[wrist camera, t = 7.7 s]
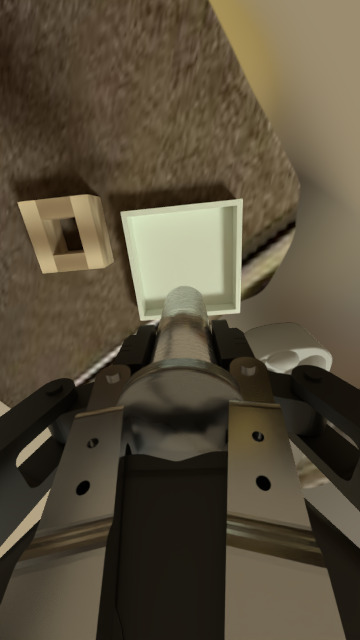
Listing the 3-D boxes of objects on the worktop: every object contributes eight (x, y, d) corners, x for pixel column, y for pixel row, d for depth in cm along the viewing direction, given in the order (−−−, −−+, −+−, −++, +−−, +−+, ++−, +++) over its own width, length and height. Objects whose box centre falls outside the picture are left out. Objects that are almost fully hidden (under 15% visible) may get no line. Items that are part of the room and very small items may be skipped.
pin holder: (38, 203, 28) (17, 202, 25) (100, 196, 28) (87, 194, 24) (59, 266, 32) (42, 273, 28) (113, 261, 31) (104, 267, 28)
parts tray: (126, 212, 29) (120, 211, 26) (237, 200, 28) (242, 198, 25) (144, 312, 34) (140, 320, 32) (235, 305, 34) (240, 313, 31)
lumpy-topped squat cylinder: (305, 371, 39) (335, 411, 31) (230, 382, 40) (240, 423, 32) (306, 317, 34) (342, 348, 27) (222, 332, 36) (232, 365, 28)
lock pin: (151, 278, 16) (92, 384, 6) (213, 273, 16) (261, 375, 6) (159, 333, 18) (124, 483, 8) (215, 329, 17) (253, 480, 7)
